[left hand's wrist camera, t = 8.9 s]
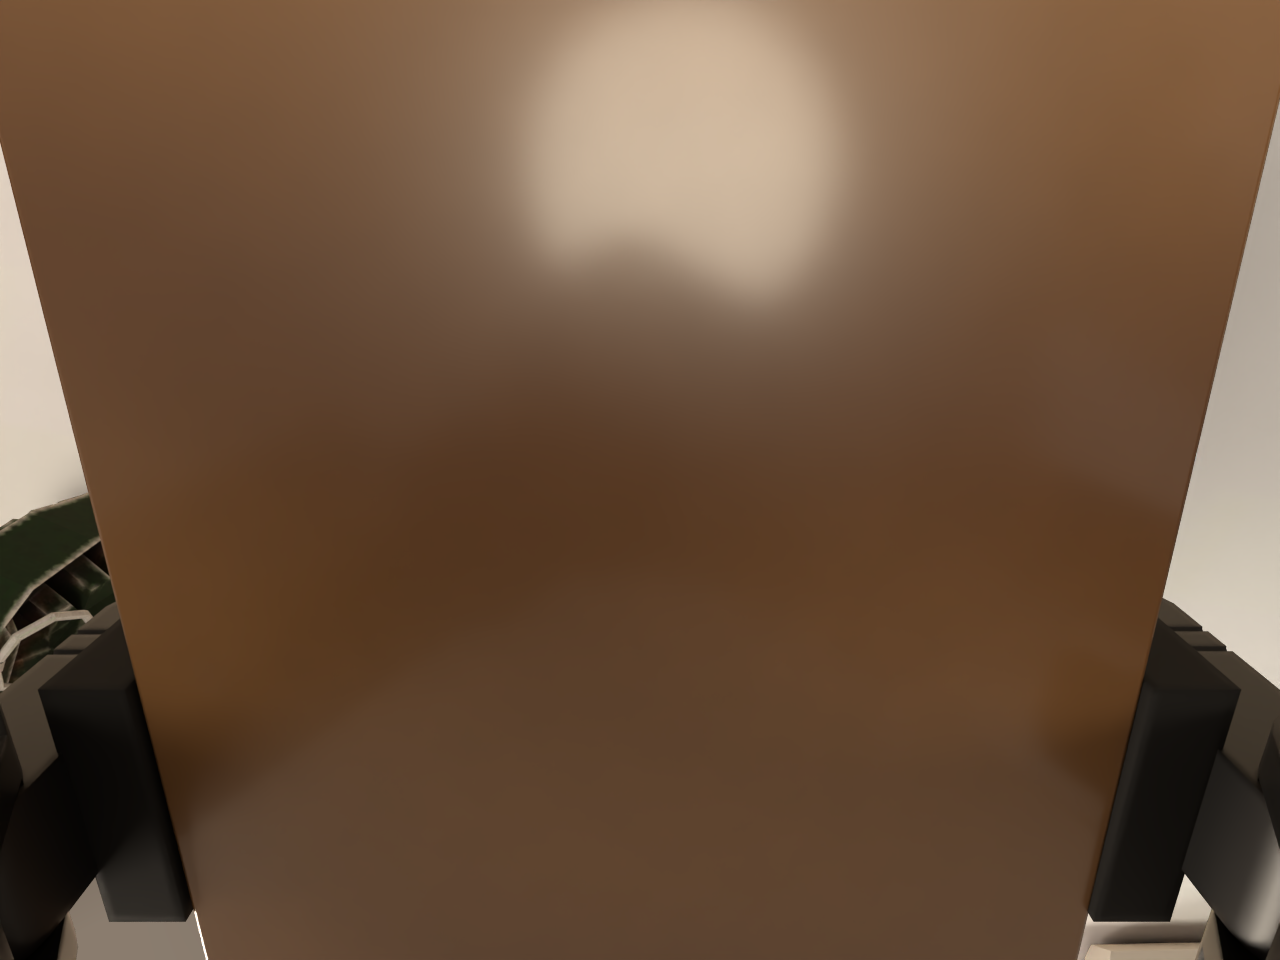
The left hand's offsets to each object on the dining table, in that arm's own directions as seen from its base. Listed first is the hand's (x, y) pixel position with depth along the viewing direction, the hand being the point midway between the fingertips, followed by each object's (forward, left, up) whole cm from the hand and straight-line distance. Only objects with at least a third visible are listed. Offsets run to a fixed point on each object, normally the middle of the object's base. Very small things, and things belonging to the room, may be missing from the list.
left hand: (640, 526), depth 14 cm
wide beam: (+14, -16, -1) cm, 21 cm away
